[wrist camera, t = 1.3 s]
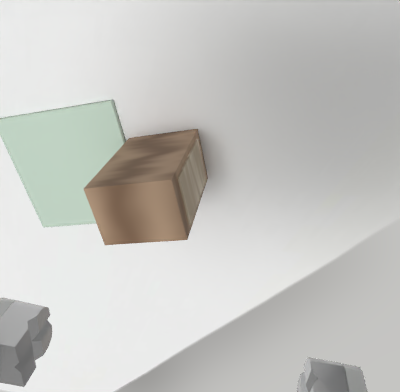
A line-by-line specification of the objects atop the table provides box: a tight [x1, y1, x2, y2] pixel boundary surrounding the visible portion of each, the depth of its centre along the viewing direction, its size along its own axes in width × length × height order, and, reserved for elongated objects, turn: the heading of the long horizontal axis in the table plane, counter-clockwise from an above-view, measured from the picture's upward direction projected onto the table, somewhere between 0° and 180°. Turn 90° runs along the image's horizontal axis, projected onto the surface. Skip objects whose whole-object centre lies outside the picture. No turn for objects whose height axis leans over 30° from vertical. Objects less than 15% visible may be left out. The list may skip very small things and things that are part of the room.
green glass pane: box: [0, 100, 126, 227], centre depth 46 cm, size 15×15×1 cm
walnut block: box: [84, 129, 208, 245], centre depth 38 cm, size 8×6×12 cm
